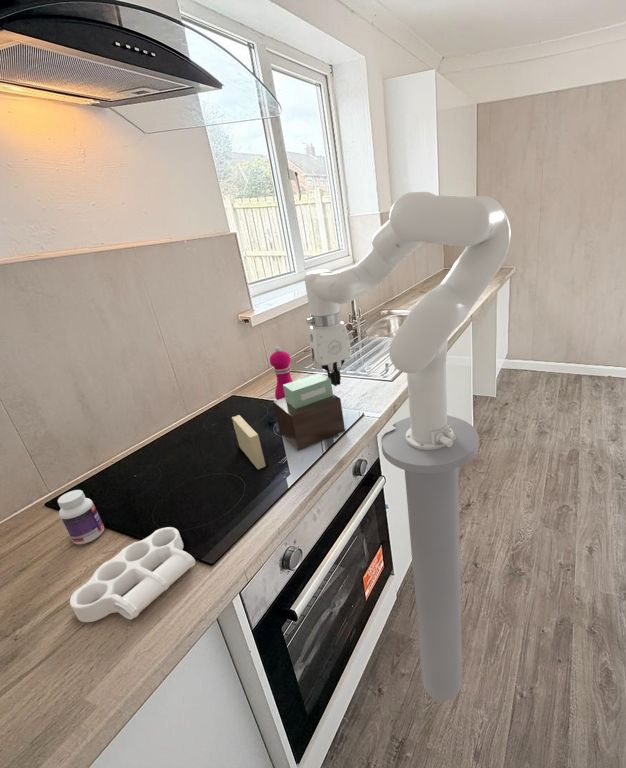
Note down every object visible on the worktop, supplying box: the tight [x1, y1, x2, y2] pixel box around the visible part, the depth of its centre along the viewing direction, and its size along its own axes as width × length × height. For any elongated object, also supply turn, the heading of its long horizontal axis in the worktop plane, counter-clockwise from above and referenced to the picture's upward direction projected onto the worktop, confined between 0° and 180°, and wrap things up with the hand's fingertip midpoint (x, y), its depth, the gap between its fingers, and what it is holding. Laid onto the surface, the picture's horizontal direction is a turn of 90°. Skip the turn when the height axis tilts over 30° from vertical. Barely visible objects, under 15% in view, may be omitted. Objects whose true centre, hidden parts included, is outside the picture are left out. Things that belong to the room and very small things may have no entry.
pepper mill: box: [269, 346, 294, 400], centre depth 126 cm, size 7×7×20 cm
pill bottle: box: [57, 489, 105, 545], centre depth 81 cm, size 5×5×10 cm
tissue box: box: [283, 372, 334, 409], centre depth 110 cm, size 11×6×5 cm, turn 127°
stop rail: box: [231, 414, 267, 470], centre depth 103 cm, size 14×2×9 cm, turn 37°
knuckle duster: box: [69, 526, 197, 623], centre depth 71 cm, size 3×18×15 cm
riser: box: [272, 393, 346, 451], centre depth 112 cm, size 12×14×10 cm
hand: (335, 383), depth 114 cm, fingers closed
